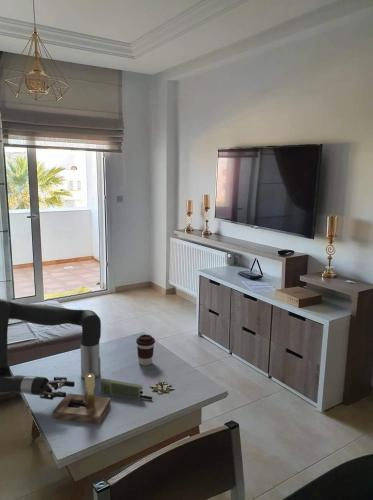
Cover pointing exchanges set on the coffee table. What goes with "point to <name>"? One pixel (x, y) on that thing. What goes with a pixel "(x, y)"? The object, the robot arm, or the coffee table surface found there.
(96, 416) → the keyhole plate
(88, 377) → the brass peg
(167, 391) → the lily flower
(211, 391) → the coffee table surface
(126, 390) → the handheld radio
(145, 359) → the coffee cup
